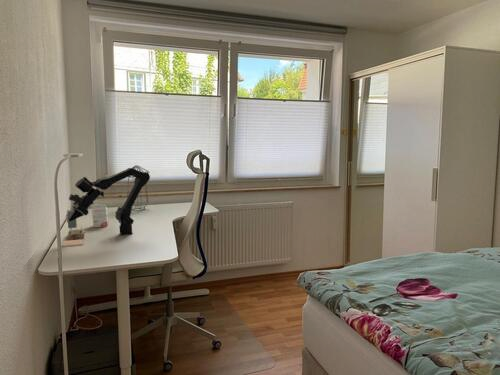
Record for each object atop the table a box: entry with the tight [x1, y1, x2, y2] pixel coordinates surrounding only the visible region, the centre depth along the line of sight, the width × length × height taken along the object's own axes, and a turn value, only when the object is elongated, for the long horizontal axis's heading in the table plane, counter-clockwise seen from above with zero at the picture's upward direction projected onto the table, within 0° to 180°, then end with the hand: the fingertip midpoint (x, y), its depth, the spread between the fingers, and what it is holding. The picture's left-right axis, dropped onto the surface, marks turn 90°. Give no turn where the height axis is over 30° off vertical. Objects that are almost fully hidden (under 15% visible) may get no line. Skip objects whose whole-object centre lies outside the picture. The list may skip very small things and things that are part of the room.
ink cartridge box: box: [91, 203, 109, 228], centre depth 237 cm, size 9×5×15 cm, turn 105°
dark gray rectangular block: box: [65, 209, 78, 229], centre depth 199 cm, size 5×4×9 cm
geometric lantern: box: [126, 165, 150, 212], centre depth 289 cm, size 16×16×35 cm
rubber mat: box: [61, 238, 85, 248], centre depth 199 cm, size 10×10×1 cm
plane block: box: [67, 226, 85, 241], centre depth 212 cm, size 8×11×4 cm
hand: (69, 219), depth 199 cm, fingers closed on dark gray rectangular block, 4 cm apart
